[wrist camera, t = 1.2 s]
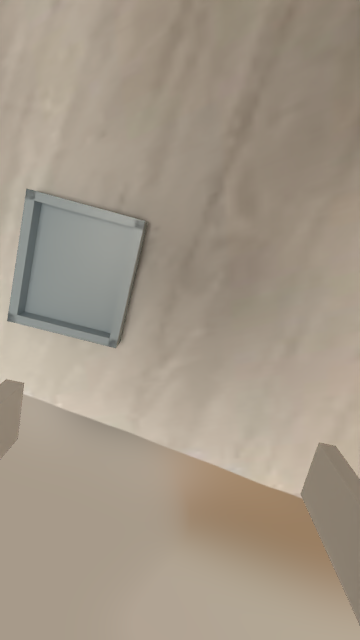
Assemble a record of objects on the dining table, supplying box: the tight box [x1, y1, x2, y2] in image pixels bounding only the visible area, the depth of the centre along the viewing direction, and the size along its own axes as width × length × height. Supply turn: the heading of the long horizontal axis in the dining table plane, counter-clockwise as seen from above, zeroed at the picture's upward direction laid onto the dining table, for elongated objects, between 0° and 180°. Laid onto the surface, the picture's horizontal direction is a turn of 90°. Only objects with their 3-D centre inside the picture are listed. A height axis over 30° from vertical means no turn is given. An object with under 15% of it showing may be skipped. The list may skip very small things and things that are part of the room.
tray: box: [7, 189, 148, 348], centre depth 39 cm, size 15×13×2 cm
